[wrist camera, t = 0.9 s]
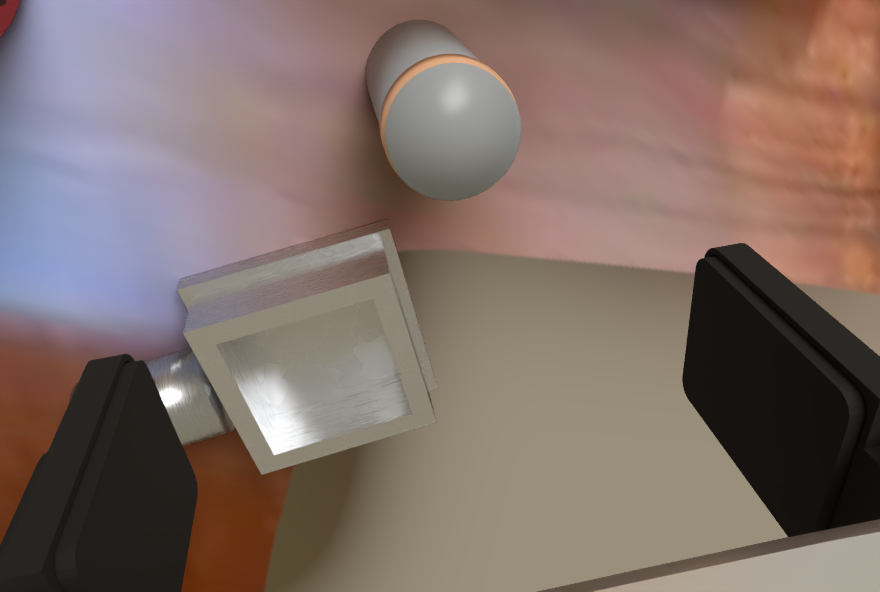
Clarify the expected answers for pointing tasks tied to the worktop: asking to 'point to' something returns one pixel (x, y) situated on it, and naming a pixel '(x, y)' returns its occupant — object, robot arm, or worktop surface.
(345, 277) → the fitting
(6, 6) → the canned food
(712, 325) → the robot arm
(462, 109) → the canister
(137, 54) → the worktop surface
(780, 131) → the worktop surface
